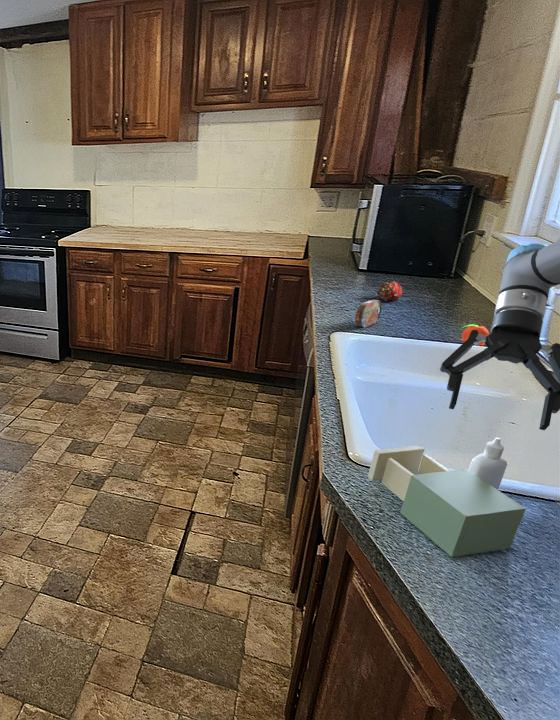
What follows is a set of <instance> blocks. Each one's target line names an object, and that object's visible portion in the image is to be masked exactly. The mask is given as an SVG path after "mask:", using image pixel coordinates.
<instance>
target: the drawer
mask: <svg viewBox="0 0 560 720" xmlns="http://www.w3.org/2000/svg"><path fill="white" fill-rule="evenodd" d="M424 452H425V448H424V447H423V446H421V445H412V446H411V445H410V446H402V447H392V448H382V449H374V452H373V455H372V460H371V463H370V467H369V471H368V475H367V478H368V479H370V480H371V481H381V484H382V485H383V486H384V487H385V488H387V489H388V490H389V491H390V492H391V493H393V494H394V495H395V496H396V497H397V498H399V499H400V500H401V501H402V502H404V499H405V495H406V492H407V488H408V485H409V482H410V478H411V475H418V474H426V473H435V472H444V471H451V470H450V469H449V468H448V467H446V466H445V465H443V464H441V463H440V462H439V461H437V460H436V459H434V458H433V457H431V456H430V455H429V454H424Z"/></svg>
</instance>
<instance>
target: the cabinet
mask: <svg viewBox="0 0 560 720" xmlns="http://www.w3.org/2000/svg"><path fill="white" fill-rule="evenodd" d="M526 510H527V508H526V507H525V506H523V505H521V504H520V503H518V502H517V501H515V500H514V499H512V498H511V497H509V496H508V495H506V494H505V493H503V492H502V491H500V490H499V489H498V490H497V489H496V488H494V487H493V486H491V485H490V484H488V483H487V482H485V481H483V480H482V479H480V478H479V477H477V476H476V475H474V474H473V473H471V472H470V471H468V469H467V468H463V469H462V468H461V469H453V470H450V471H444V472H435V473H426V474H418V475H411V478H410V482H409V485H408V488H407V492H406V495H405V499H404V501H402V506H401V509H400V512H399V513H400V514H401V515H402V516H403V517H404V518H406V519H407V520H408V521H409V522H410V523H412V524H413V526H415V527H416V528H417V529H418V530H419V531H421V532H422V533H423V534H424V535H425V536H426V537H427V538H429V539H430V540H431V541H432V542H433V543H434V544H435V545H437V546H438V547H439V548H440V549H442V551H444V553H446V554H447V555H448V556H450V558H455V557H461V556H462V557H463V556H468V555H469V556H470V555H475V554H482V553H488V552H489V553H490V552H496V551H503V550H509V549H511V546H512V544H513V542H514V538H515V537H516V534H517V531H518V529H519V526H520V524H521V522H522V520H523V517H524V515H525V512H526Z"/></svg>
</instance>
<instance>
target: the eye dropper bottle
mask: <svg viewBox="0 0 560 720" xmlns="http://www.w3.org/2000/svg"><path fill="white" fill-rule="evenodd" d="M504 450H505V447H504V446H503V444H501V438H500V437H497V436H496V437H495V438H494V439H493V440H492V441H488V442H486V444H485V448H484V450H483V452H482V453H480V454H477V455H476V456H474V457H473V458H472V460H471V461H470V463H469V466H468V469H467V470H468V471H470V472H471V473H473V474H474V475H476V476H477V477H479V478H480V479H482V480H483V481H485V482H487V483H488V484H490V485H491V486H493V487H494V488H496V489H497V490H499V489H500V486H501V484H502V481H503V478H504V475H505V473H506V470H507V467H508V461H507V460H506V459H505V458H504V457H502V455H503V453H504Z"/></svg>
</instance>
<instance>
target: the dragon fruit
mask: <svg viewBox="0 0 560 720" xmlns="http://www.w3.org/2000/svg"><path fill="white" fill-rule="evenodd" d="M376 294H377V295H378V296H379V297H380V298H381V300H383V301H385V302H390V301H393V302H394V301H395V302H397V301H398V300H399V297H401V296H402V295H403V289H402V286H401V285H400V284H399V283H398V282H397V281H387V282H385V283H380V285H379V288H378V291H377V292H376Z"/></svg>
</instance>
